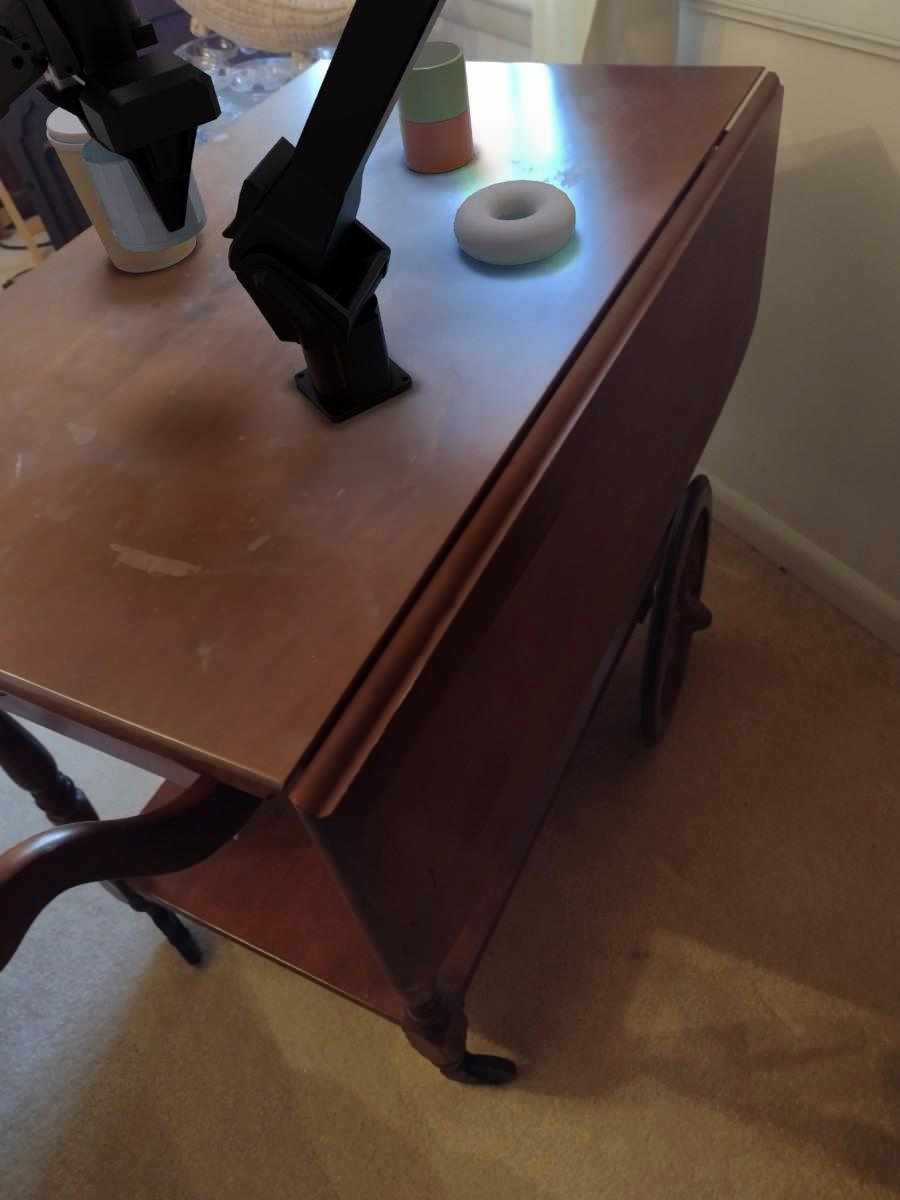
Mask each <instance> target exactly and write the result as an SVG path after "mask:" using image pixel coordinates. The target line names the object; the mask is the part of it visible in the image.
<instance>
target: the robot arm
mask: <svg viewBox="0 0 900 1200" xmlns="http://www.w3.org/2000/svg"><path fill="white" fill-rule="evenodd" d="M446 2H447V0H355V2H354V4H353V7H352V9H351V11H350V14H349V16H348V19H347V21H346V23H345V26H344V28H343V31H342V33H341V35H340V38H339V40H338V43H337V46H336V48H335V50H334V53H333V55H332V56H331V57H332V58H331V59H330V62H329V65H328V66H327V70H326V72H325V74H324V77H323V79H322V81H321V84H320V87H319V89H318V92H317V93H316V97H315V98H314V100H313V104H312V106H311V108H310V111H309V113H308V116H307V119H306V120H305V122H304V125H303V128H302V130H301V133H300V136H299V138H298V140H297V143H296V145H295V146H294V144H292V143H291V142H290V141H289V140H288V139H287V138H286V137H284V136H283V135H282V136H280V137H279V139H278V140H277V141H276V143H275V144H274V145H273V146H272V147H271V148H270V150H268V152H267V153H266V154H265V155H264V156H263V158H262V159H261V160H260V161H259V163H258V164H257V165H256V166H255V167H254V168H253V169H252V171H251V172H249V174H248V175H247V177H246V178H245V179H244V180H243V181H242V184H241V188H240V191H239V194H238V200H237V208H236V213H235V216H234V218H233V219H232V220H231V221H230V222H229V224H228V225H227V226H226V227H225V229H224V230H223V231H222V233H221V236H222V238H224V239H230V240H232V241H231V242H230V245H229V247H228V253H227V260H228V267H229V269H230V270H231V271H232V272H233V273H234V275H235V277H236V279H237V281H238V282H239V284H240V285H241V286H242V287H243V289H244V290H245V291H246V293H247V294H248V296H249V297H250V298H251V300H252V301H253V303H254V304H255V306H256V307H257V309H258V310H259V311H260V313H261V315H262V316H263V318H264V319H265V320H266V322H267V324H268V325H269V326H270V328H271V330H272V332H274V334H275V336H276V337H277V338H278V340H279V341H281V342H283V343H285V342H286V343H296V345H300V347H301V351H302V353H303V357H304V360H305V364H306V368H305V369H303V370H301V371H297V372H296V373H295V374H294V375H293V380H294V383H295V384H296V385H297V386H298V388H300V389H301V390H302V392H303V393H304V394H305V395H307V397H308V398H309V399H310V400H311V401H312V402H313V403H314V404H315V405H316V406H317V407H318V408H319V409H320V410H321V411H322V412H323V414H325V415H326V416H327V417H328V418H329V420H331V421H332V422H341V421H343V420H345V419H347V418H349V417H351V416H353V415H355V414H357V413H359V412H362V411H363V410H366V409H368V408H369V407H372V406H374V405H375V404H378V403H380V402H381V401H384V400H386V399H388V398H390V397H393V396H395V395H397V394H399V393H400V392H403V391H405V390H407V389H408V388H410V387H412V386H413V378H412V375H410V374H409V373H407V372H406V371H405V370H404V369H403V368H402V367H401V366H399V364H397V363H396V362H395V361H394V360H393V359H392V358H390V357H389V351H388V345H387V341H386V336H385V329H384V325H383V320H382V316H381V311H380V310H381V309H380V306H379V299H378V297H377V295H376V293H375V292H376V290H377V289H378V287H379V285H380V284H381V282H382V280H383V279H385V278H386V276H387V274H388V272H389V266H390V261H391V255H392V249H391V247H390V245H388V244H387V243H386V242H384V241H383V240H382V239H381V238H380V237H379V236H377V235H376V234H375V233H374V232H373V231H371V230H370V229H369V228H368V227H367V226H366V225H365V224H364V223H362V222H361V221H360V220H359V219H357V217H358V212H359V208H360V205H361V200H362V190H363V177H364V173H365V172H364V171H365V168H366V165H367V163H368V161H369V159H370V157H371V155H372V153H373V151H374V149H375V147H376V145H377V143H378V141H379V139H380V137H381V135H382V133H383V131H384V128H385V127H386V124H387V123H388V121H389V118H390V116H391V114H392V112H393V110H394V108H395V107H396V105H397V100H398V98H399V96H400V94H401V92H402V90H403V88H404V86H405V84H406V82H407V80H408V78H409V76H410V74H411V72H412V70H413V68H414V66H415V63H416V61H417V59H418V57H419V55H420V53H421V51H422V49H423V47H424V45H425V43H426V41H428V39H429V37H430V35H431V33H432V31H433V29H434V27H435V25H436V23H437V21H438V18H439V17H440V15H441V13H442V10H443V9H444V6H445V4H446ZM158 44H159V40H158V37H157V34H156V31H155V28H154V25H153V23H152V22H151V21H149V20H148V19H146V18H144V17H142V16H141V15H139V12H138V8H137V6H136V3H135V0H0V121H1V120H2V119H3V118H4V117H5V116H6V115H8V114H9V113H10V112H11V111H10V110H11V109H10V107H11V105H12V104H13V103H15V102H16V101H17V99H18V98H20V97H21V96H22V95H23V94H24V93H25V92H26V91H28V89H30V88H31V87H32V86H33V85H34V84H35V83H36V82H37V81H38V80H40V79H41V77H42V76H44V77H45V80H46V81H43V82H41V83H39V84H37V85H36V86H35V87H34V90H35V91H36V92H37V93H39V94H40V95H41V97H43V98H44V99H45V100H46V101H48V102H49V103H51V104H53V105H54V106H56V107H57V108H58V107H60V108H62V109H64V110H66V111H68V112H70V113H71V114H73V115H75V116H77V118H78V119H79V121H80V122H81V124H82V125H83V126H84V128H85V129H86V131H87V132H88V134H89V136H90V137H91V138H93V139H94V140H95V141H96V142H97V143H99V144H100V145H101V146H102V147H103V148H105V149H106V150H108V151H110V152H112V153H116V154H118V155H121V156H123V157H125V158H126V159H127V161H128V163H129V165H130V167H131V168H132V170H133V172H134V174H135V176H136V177H137V179H138V181H139V183H140V184H141V186H142V188H143V190H144V192H145V193H146V195H147V197H148V199H149V200H150V202H151V204H152V206H153V208H154V209H155V211H156V213H157V215H158V216H159V218H160V220H161V221H162V223H163V225H164V226H165V228H166V230H168V231H169V232H174V231H177V230H179V229H182V228H183V227H184V226H185V220H186V211H187V201H188V192H189V183H190V174H191V167H192V165H193V157H194V153H195V146H196V141H197V135H198V129H199V127H200V126H203V125H206V124H208V123H211V122H213V121H216V120H218V119H219V118H220V116H221V115H222V109H221V106H220V102H219V98H218V95H217V92H216V88H215V85H214V81H213V78H212V76H211V75H210V74H208V73H207V72H205V71H204V70H202V69H200V68H199V67H197V66H195V65H194V64H193V63H191V62H189V61H188V60H186V59H184V58H182V57H181V56H179V55H178V54H175V53H174V52H173V51H170V50H169V49H168V48H166V47H164V48H163V47H162V48H161V49H158V50H155V51H151V52H149V53H146V54H144V55H143V54H142V55H139V52H138V51H140V50H143V49H145V48H149V47H152V46H154V45H158Z"/></svg>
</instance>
